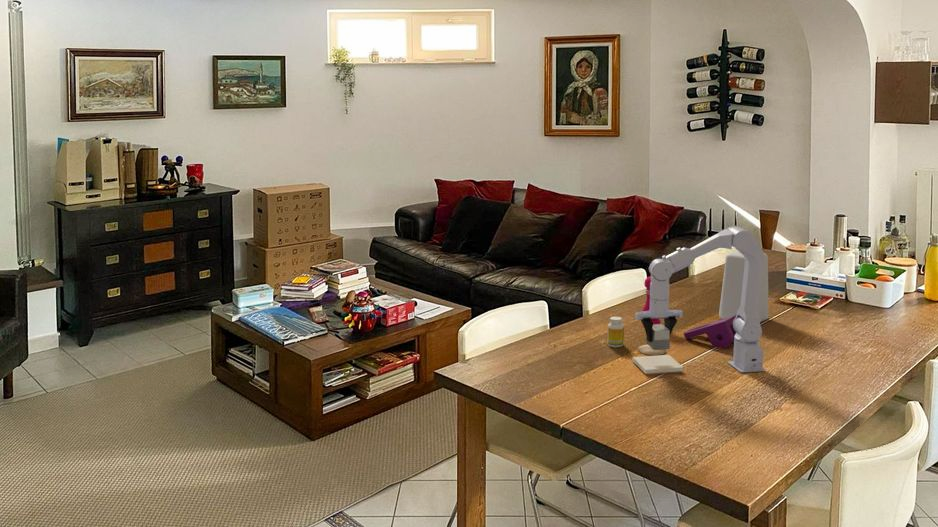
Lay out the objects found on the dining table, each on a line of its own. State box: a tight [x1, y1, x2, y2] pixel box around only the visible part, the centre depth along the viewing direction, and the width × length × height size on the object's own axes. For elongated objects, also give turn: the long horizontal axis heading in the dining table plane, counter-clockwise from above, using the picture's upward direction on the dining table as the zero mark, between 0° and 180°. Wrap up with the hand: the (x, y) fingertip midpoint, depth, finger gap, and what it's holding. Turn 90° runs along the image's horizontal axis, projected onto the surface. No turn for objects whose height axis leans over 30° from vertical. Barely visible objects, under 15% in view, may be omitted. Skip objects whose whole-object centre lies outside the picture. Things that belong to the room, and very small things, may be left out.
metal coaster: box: [637, 344, 667, 356], centre depth 270 cm, size 9×9×1 cm
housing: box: [645, 323, 671, 350], centre depth 252 cm, size 7×5×6 cm
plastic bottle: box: [718, 250, 770, 323], centre depth 301 cm, size 15×15×28 cm
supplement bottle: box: [606, 316, 625, 348], centre depth 276 cm, size 5×5×10 cm
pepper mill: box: [641, 275, 661, 325], centre depth 296 cm, size 7×7×20 cm
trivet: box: [632, 354, 684, 376], centre depth 254 cm, size 12×12×2 cm
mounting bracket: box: [683, 315, 736, 349], centre depth 278 cm, size 10×8×18 cm
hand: (658, 340), depth 252 cm, fingers closed on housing, 5 cm apart
